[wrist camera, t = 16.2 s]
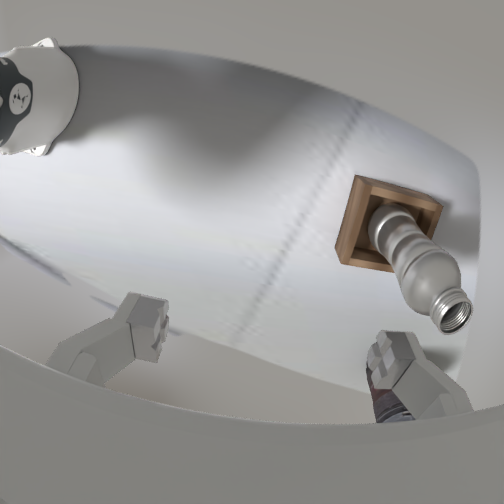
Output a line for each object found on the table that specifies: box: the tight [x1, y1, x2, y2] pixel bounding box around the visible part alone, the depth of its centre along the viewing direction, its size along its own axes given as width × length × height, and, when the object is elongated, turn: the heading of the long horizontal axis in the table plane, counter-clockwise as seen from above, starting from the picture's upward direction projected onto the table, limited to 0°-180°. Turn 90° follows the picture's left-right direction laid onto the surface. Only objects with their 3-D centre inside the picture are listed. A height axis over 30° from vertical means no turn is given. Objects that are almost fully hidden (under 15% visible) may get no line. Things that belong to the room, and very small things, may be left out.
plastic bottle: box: [368, 203, 473, 335], centre depth 29 cm, size 6×7×20 cm
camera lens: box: [366, 363, 416, 423], centre depth 44 cm, size 8×8×15 cm
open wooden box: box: [335, 175, 443, 273], centre depth 36 cm, size 12×10×4 cm
